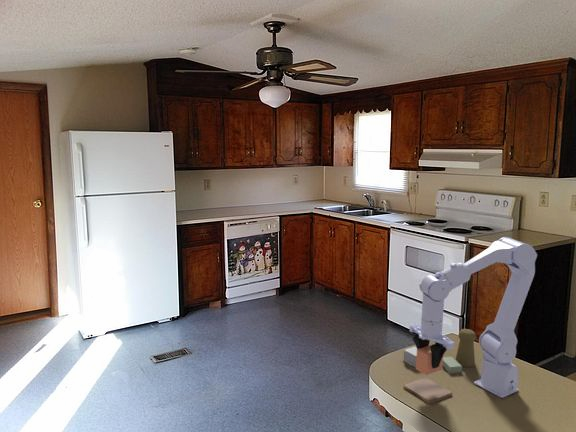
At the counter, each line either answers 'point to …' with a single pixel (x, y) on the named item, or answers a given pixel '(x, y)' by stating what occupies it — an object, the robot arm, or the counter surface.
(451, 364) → the flat olive brick
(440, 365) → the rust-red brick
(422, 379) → the walnut board
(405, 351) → the white square brick
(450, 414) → the counter surface
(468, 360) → the cork
